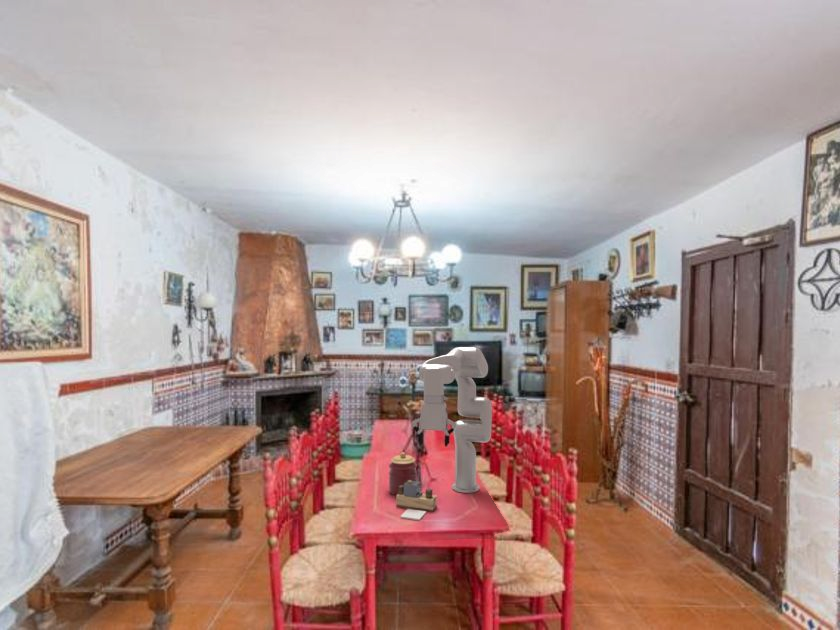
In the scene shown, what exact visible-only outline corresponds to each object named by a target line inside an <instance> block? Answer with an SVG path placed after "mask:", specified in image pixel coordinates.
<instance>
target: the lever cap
mask: <svg viewBox="0 0 840 630" xmlns="http://www.w3.org/2000/svg"><path fill="white" fill-rule="evenodd" d="M420 492H421V481H418V480H417V481H412V480H408V481H407V482H406V483H405V484H404V496H406V497H414V498H417V495H418V494H419V493H420Z"/></svg>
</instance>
